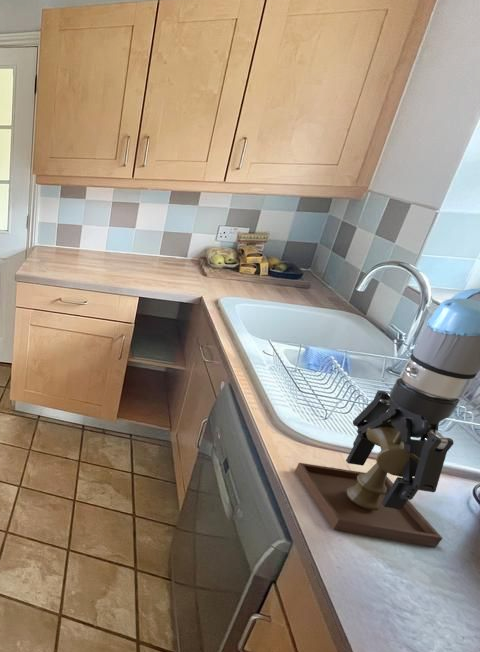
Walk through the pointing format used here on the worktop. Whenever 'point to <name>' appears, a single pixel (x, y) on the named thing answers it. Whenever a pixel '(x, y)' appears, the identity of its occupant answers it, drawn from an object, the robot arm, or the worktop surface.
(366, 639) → the worktop surface
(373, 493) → the kendama
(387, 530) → the tray
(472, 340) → the robot arm
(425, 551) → the worktop surface
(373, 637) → the worktop surface
